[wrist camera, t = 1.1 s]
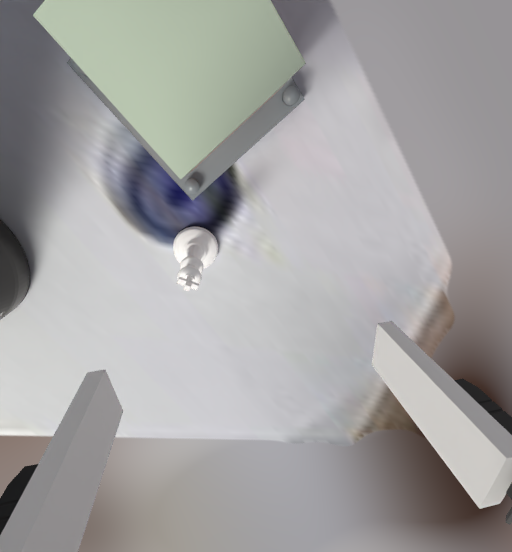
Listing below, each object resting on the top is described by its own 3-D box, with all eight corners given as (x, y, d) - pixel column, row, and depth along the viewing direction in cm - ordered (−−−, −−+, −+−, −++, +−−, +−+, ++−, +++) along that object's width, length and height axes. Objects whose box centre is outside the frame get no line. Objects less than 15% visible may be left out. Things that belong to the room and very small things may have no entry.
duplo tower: (193, 198, 28) (180, 223, 19) (74, 67, 23) (-34, 3, 13) (301, 101, 26) (351, 70, 16) (196, -72, 20) (177, -277, 11)
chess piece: (182, 219, 29) (166, 249, 20) (225, 237, 30) (228, 273, 21) (167, 258, 31) (146, 303, 22) (208, 274, 32) (204, 322, 23)
